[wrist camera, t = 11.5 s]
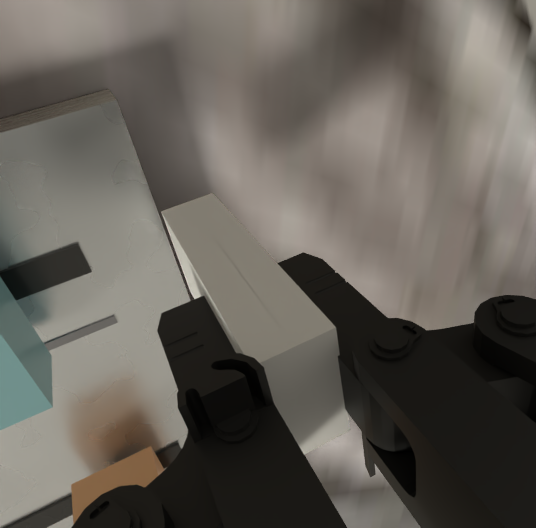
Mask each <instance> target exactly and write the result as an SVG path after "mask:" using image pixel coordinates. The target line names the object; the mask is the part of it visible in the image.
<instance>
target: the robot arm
mask: <svg viewBox="0 0 536 528" xmlns="http://www.w3.org/2000/svg"><path fill="white" fill-rule="evenodd" d="M161 213H162V215H163V218H164V221H165V224H166V226H167V229H168V232H169V235H170V237H171V240H172V243H173V246H174V248H175V251H176V254H177V257H178V259H179V262H180V265H181V268H182V270H183V273H184V276H185V279H186V281H187V284H188V287H189V290H190V292H191V294H192V295H193V297H194V300H192V301H189V302H187V303H185V304H182V305H180V306H177V307H175V308H172V309H170V310H168V311H165V312H163V313H161V317H160V321H159V325H158V329H157V332H158V335H159V337H160V340H161V343H162V346H163V348H164V352H165V354H166V357H167V360H168V362H169V366H170V368H171V371H172V374H173V377H174V380H175V383H176V385H177V388H178V393H177V402H178V409H179V412H180V414H181V416H182V418H183V420H184V422H185V424H186V426H187V429H188V433H187V437H186V440H185V443H184V445H183V448H182V449H181V451H180V452H179V454H178V455H177V457H176V459H175V460H174V461H173V462H172V463H171V464H170V465H169V466H168V467H167V468H166V469H165V470H164V471H163V472H162V473H161V474H160V475H158V476H157V477H156V478H155V479H154V480H153V481H152V482H151V483H149V484H148V485H147V486H146V487H142V486H139V485H126V486H119V487H116V488H114V489H112V490H110V491H108V492H106V493H103V494H101V495H100V496H99V497H98V498H97V499H95V500H94V501H93V502H92V503H91V504H90V505H88V506H87V507H86V508H85V509H84V510H83V512H82V513H81V515H80V516H79V517H78V519H77V520H76V522H75V523H74V525H73V526H72V527H71V528H347V527H346V525H345V523H344V522H343V520H342V518H341V516H340V515H339V513H338V511H337V510H336V508H335V506H334V505H333V503H332V501H331V499H330V498H329V496H328V494H327V493H326V491H325V489H324V488H323V486H322V484H321V482H320V481H319V479H318V477H317V476H316V474H315V472H314V471H313V469H312V467H311V465H310V464H309V462H308V460H307V459H306V457H305V454H307V453H308V452H310V451H312V450H314V449H316V448H318V447H320V446H321V445H323V444H325V443H327V442H329V441H331V440H333V439H335V438H336V437H338V436H340V435H342V434H344V433H346V432H348V431H349V430H350V425H349V417H348V413H349V415H350V416H351V417H352V419H353V420H354V421H355V423H356V424H357V425H358V427H359V428H360V429H361V431H362V439H363V448H364V457H365V465H366V468H367V470H368V473H369V475H370V477H372V476H373V475H375V464H376V466H377V467H378V469H379V470H380V471H381V473H382V474H383V476H384V477H385V478H386V480H387V481H388V482H389V484H390V485H391V487H392V488H393V489H394V491H395V492H396V493H397V495H398V496H399V498H400V499H401V500H402V502H403V503H404V505H405V506H406V507H407V509H408V510H409V511H410V513H411V514H412V516H413V517H414V518H415V520H416V521H417V522H418V524H419V525H420V527H421V528H536V299H532V298H529V297H525V296H515V295H504V296H498V297H493V298H490V299H488V300H487V301H485V302H483V303H481V304H480V305H479V307H478V308H477V310H476V311H475V316H474V323H472V324H466V325H461V326H455V327H450V328H445V329H438V330H425V329H424V328H422V327H420V326H419V325H417V324H415V323H413V322H411V321H407V320H403V319H399V318H387V317H386V316H385V315H384V314H382V313H381V312H380V311H379V310H378V309H377V308H376V307H375V306H374V305H372V304H371V303H370V302H369V301H368V300H367V299H366V298H365V297H364V296H362V295H361V294H360V293H359V292H358V291H357V290H356V289H355V288H354V287H352V286H351V285H350V284H349V283H348V282H347V283H346V281H345V279H344V278H342V277H341V276H340V275H339V274H338V273H335V270H334V269H333V268H331V267H330V266H329V265H328V264H327V263H326V262H325V261H324V260H323V259H320V258H318V257H315V256H312V255H309V254H306V253H301V254H299V255H296V256H294V257H292V258H289V259H287V260H284V261H282V262H280V263H277V262H276V261H275V260H274V259H273V258H272V257H271V256H270V255H269V254H268V253H267V252H266V250H265V249H264V248H263V247H262V246H261V245H260V244H259V243H258V242H257V241H256V240H255V238H254V237H253V236H252V235H251V234H250V233H249V232H248V231H247V230H246V229H245V228H244V226H243V225H242V224H241V223H240V222H239V221H238V220H237V219H236V218H235V217H234V216H233V214H232V213H231V212H230V211H229V210H228V209H227V208H226V207H225V206H224V205H223V204H222V202H221V201H220V200H219V199H218V198H217V197H216V196H215V195H214V194H213V193H211V194H208V195H205V196H202V197H200V198H197V199H194V200H191V201H188V202H186V203H183V204H180V205H177V206H174V207H172V208H169V209H166V210H163V211H161ZM374 463H375V464H374Z"/></svg>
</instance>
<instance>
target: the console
mask: <svg viewBox="0 0 536 528" xmlns="http://www.w3.org/2000/svg"><path fill="white" fill-rule="evenodd" d="M0 277H1V279H2V280H3V282H4V283H5V285H6V286H7V288H8V289H9V291H10V292H11V294H12V295H13V297H14V299H15V300H16V302H17V303H18V305H19V306H20V308H21V309H22V311H23V312H24V314H25V315H26V317H27V319H28V320H29V322H30V323H31V325H32V326H33V328H34V329H35V331H36V332H37V334H38V335H39V337H40V339H41V340H42V342H43V343H44V345H45V346H46V348H47V349H48V351H49V352H50V354H51V355H52V395H53V407H52V408H50V409H48V410H46V411H43V412H41V413H39V414H36V415H34V416H32V417H30V418H27V419H25V420H23V421H21V422H18V423H16V424H14V425H11V426H9V427H7V428H5V429H2V430H0V528H71V527H72V526H73V508H72V491H71V484H73V483H75V482H77V481H79V480H82V479H84V478H86V477H88V476H90V475H92V474H94V473H96V472H98V471H100V470H102V469H104V468H106V467H108V466H110V465H112V464H115V463H117V462H119V461H121V460H123V459H125V458H127V457H129V456H131V455H133V454H135V453H137V452H139V451H141V450H143V449H145V448H147V447H150V446H151V447H152V449H153V450H154V452H155V454H156V456H157V458H158V459H159V461H160V463H161V465H162V466H163V468H164V470H165V469H166V468H167V467H168V466H169V465H170V464H171V463H172V462H173V461H174V460H175V459H176V457H177V455H178V454H179V452H180V451H181V449H182V448H183V445H184V443H185V440H186V437H187V433H188V429H187V426H186V424H185V422H184V420H183V418H182V416H181V414H180V412H179V409H178V402H177V393H178V388H177V385H176V383H175V380H174V377H173V374H172V371H171V368H170V366H169V362H168V360H167V357H166V354H165V352H164V348H163V346H162V343H161V340H160V337H159V335H158V332H157V329H158V325H159V321H160V317H161V313H163V312H165V311H168V310H170V309H172V308H175V307H177V306H180V305H182V304H185V303H187V302H189V301H190V298H189V295H188V292H187V290H186V287H185V284H184V282H183V279H182V276H181V273H180V271H179V268H178V265H177V262H176V260H175V257H174V254H173V252H172V249H171V246H170V243H169V241H168V238H167V235H166V232H165V230H164V227H163V224H162V222H161V219H160V216H159V213H158V211H157V208H156V205H155V203H154V200H153V197H152V194H151V192H150V189H149V186H148V183H147V181H146V178H145V175H144V173H143V170H142V167H141V164H140V162H139V159H138V156H137V154H136V151H135V148H134V145H133V143H132V140H131V137H130V134H129V132H128V129H127V126H126V124H125V121H124V118H123V115H122V113H121V110H120V107H119V105H118V102H117V99H116V98H115V97H114V96H113V94H112V93H111V92H110V91H109V89H106V90H102V91H99V92H95V93H92V94H88V95H84V96H81V97H77V98H74V99H70V100H67V101H63V102H59V103H56V104H52V105H49V106H45V107H42V108H38V109H35V110H31V111H27V112H24V113H20V114H17V115H13V116H10V117H6V118H2V119H0Z"/></svg>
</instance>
